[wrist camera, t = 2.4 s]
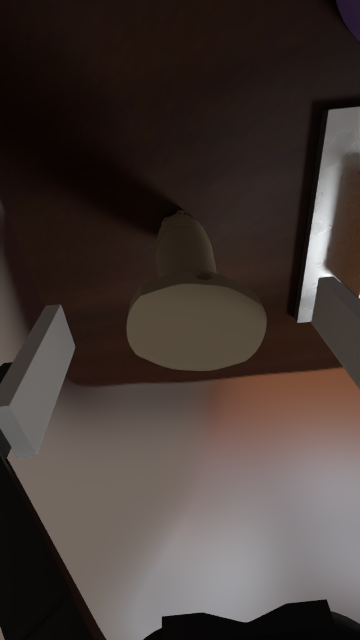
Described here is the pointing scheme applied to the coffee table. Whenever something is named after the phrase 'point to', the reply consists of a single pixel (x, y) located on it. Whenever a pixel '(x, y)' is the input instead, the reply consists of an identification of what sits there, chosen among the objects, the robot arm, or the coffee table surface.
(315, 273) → the coupling base
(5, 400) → the robot arm
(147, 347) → the handle
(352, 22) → the masking tape
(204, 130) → the coffee table surface
